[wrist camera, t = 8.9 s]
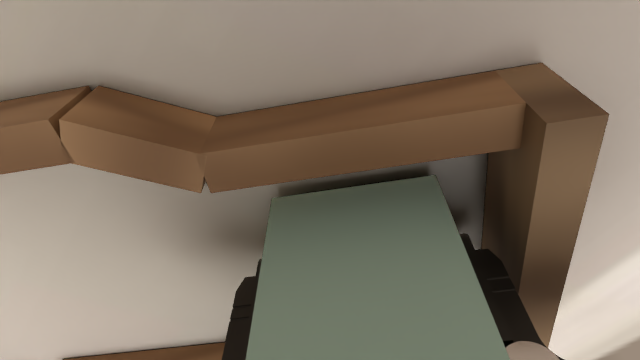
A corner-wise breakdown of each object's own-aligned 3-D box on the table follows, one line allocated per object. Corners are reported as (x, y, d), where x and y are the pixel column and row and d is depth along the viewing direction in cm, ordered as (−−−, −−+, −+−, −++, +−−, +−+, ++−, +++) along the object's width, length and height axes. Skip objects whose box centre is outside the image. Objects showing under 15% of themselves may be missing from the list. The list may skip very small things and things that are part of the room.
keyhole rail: (-164, 131, 12) (-292, 193, 9) (551, 2, 10) (628, 39, 7) (76, 372, 19) (40, 442, 17) (503, 330, 17) (533, 402, 15)
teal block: (271, 198, 12) (239, 396, 8) (435, 175, 12) (514, 370, 7) (304, 299, 15) (295, 490, 10) (437, 284, 15) (494, 477, 10)
